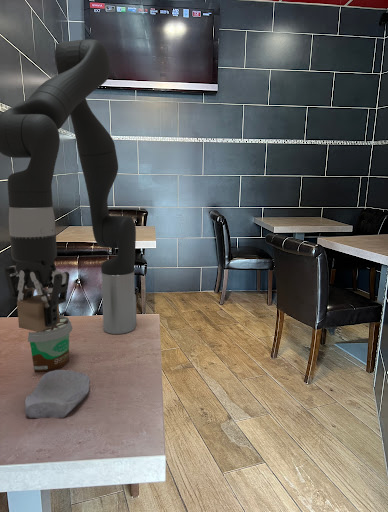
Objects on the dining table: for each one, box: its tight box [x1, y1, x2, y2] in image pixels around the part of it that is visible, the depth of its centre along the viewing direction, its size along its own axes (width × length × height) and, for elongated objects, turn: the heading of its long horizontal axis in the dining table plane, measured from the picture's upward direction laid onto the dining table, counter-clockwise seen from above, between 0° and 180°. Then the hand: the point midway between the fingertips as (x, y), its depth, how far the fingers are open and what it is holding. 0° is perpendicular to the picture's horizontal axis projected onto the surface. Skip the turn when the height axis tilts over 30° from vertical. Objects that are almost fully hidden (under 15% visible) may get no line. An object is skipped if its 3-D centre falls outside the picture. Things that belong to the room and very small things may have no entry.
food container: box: [27, 314, 73, 374], centre depth 85 cm, size 12×6×10 cm, turn 168°
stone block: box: [24, 369, 91, 419], centre depth 71 cm, size 12×5×10 cm
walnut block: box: [16, 294, 60, 332], centre depth 68 cm, size 5×5×5 cm
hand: (39, 322), depth 68 cm, fingers closed on walnut block, 5 cm apart
